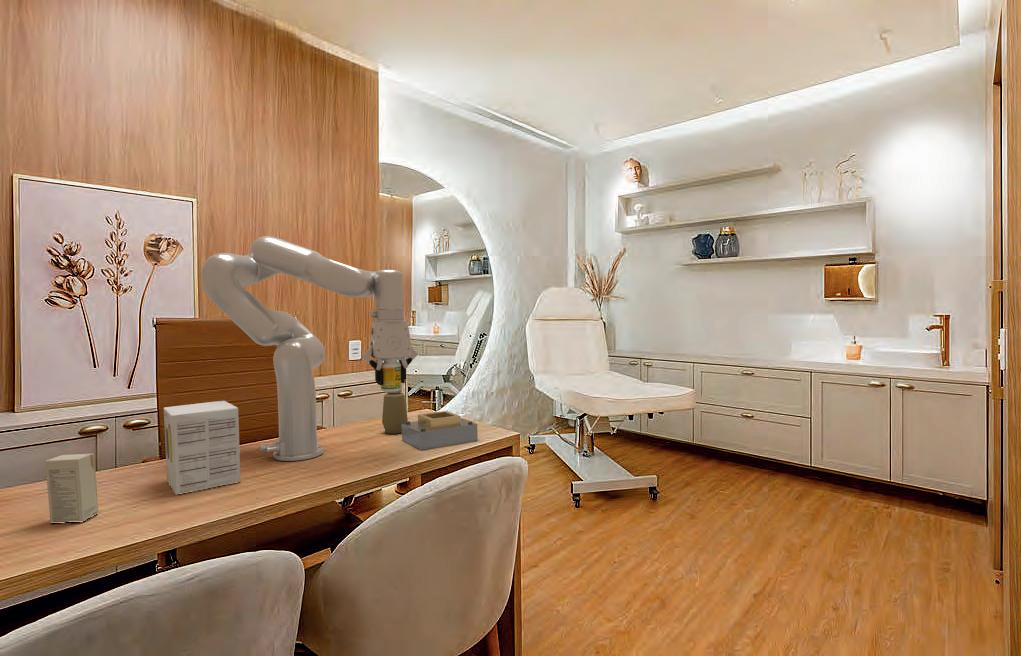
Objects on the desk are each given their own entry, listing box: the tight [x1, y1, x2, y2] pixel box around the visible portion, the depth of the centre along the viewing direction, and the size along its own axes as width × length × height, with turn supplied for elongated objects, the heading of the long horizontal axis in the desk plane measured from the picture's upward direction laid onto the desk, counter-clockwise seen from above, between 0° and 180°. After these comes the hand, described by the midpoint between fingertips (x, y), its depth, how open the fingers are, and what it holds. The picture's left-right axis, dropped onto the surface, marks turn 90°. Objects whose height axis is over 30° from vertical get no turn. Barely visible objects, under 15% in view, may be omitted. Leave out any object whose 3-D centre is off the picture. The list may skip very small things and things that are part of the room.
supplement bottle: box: [380, 358, 402, 393], centre depth 144 cm, size 5×5×10 cm
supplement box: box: [163, 400, 241, 495], centre depth 123 cm, size 13×13×18 cm
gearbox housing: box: [401, 410, 479, 451], centre depth 159 cm, size 18×14×8 cm
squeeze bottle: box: [381, 386, 409, 435], centre depth 170 cm, size 8×8×18 cm
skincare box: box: [44, 452, 100, 522], centre depth 102 cm, size 6×4×12 cm
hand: (391, 382), depth 144 cm, fingers closed on supplement bottle, 5 cm apart
